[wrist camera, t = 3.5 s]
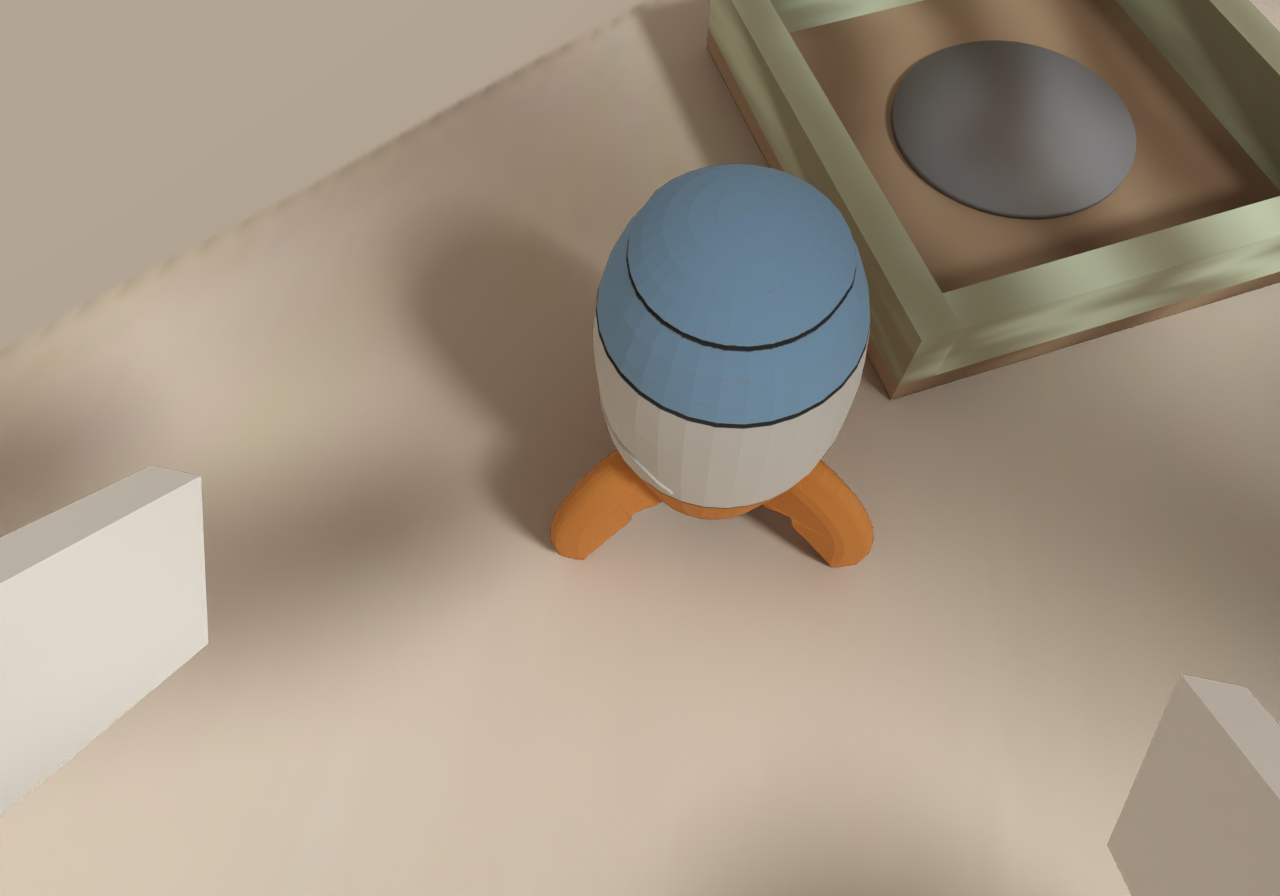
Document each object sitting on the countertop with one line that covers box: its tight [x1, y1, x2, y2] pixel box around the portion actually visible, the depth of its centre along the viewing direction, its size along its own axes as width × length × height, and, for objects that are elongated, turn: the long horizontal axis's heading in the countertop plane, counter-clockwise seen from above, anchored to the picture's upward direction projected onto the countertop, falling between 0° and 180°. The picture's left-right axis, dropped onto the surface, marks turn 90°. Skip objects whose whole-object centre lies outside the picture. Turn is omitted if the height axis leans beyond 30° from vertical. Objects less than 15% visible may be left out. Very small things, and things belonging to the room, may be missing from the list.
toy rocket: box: [550, 164, 874, 567], centre depth 25 cm, size 10×11×15 cm
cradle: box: [707, 0, 1280, 400], centre depth 34 cm, size 20×20×4 cm
